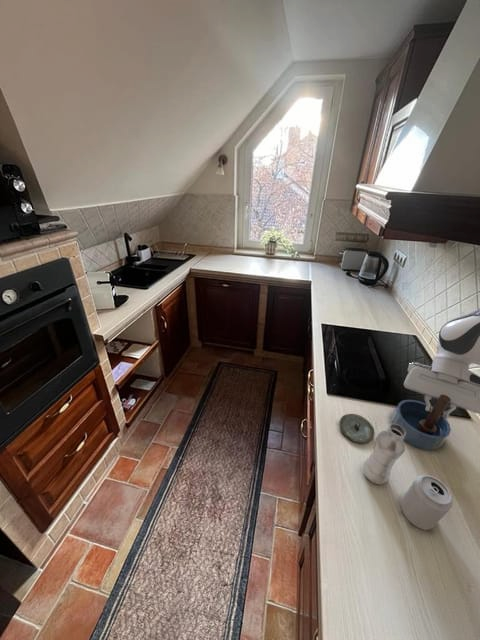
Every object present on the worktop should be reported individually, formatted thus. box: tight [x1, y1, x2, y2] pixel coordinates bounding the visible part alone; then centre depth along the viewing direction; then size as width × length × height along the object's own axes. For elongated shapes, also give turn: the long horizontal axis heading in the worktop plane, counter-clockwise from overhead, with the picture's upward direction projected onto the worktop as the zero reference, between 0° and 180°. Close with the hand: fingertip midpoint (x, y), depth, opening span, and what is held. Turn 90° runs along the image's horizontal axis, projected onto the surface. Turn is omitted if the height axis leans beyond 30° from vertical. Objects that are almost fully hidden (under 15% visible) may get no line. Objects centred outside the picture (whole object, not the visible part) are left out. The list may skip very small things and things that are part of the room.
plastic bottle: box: [362, 423, 406, 485], centre depth 67 cm, size 6×7×20 cm
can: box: [399, 474, 453, 531], centre depth 61 cm, size 8×8×12 cm
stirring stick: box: [417, 395, 451, 436], centre depth 78 cm, size 5×5×15 cm
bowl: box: [391, 399, 452, 451], centre depth 83 cm, size 15×15×6 cm
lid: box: [339, 413, 375, 444], centre depth 83 cm, size 11×10×5 cm
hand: (436, 414), depth 77 cm, fingers closed on stirring stick, 2 cm apart
